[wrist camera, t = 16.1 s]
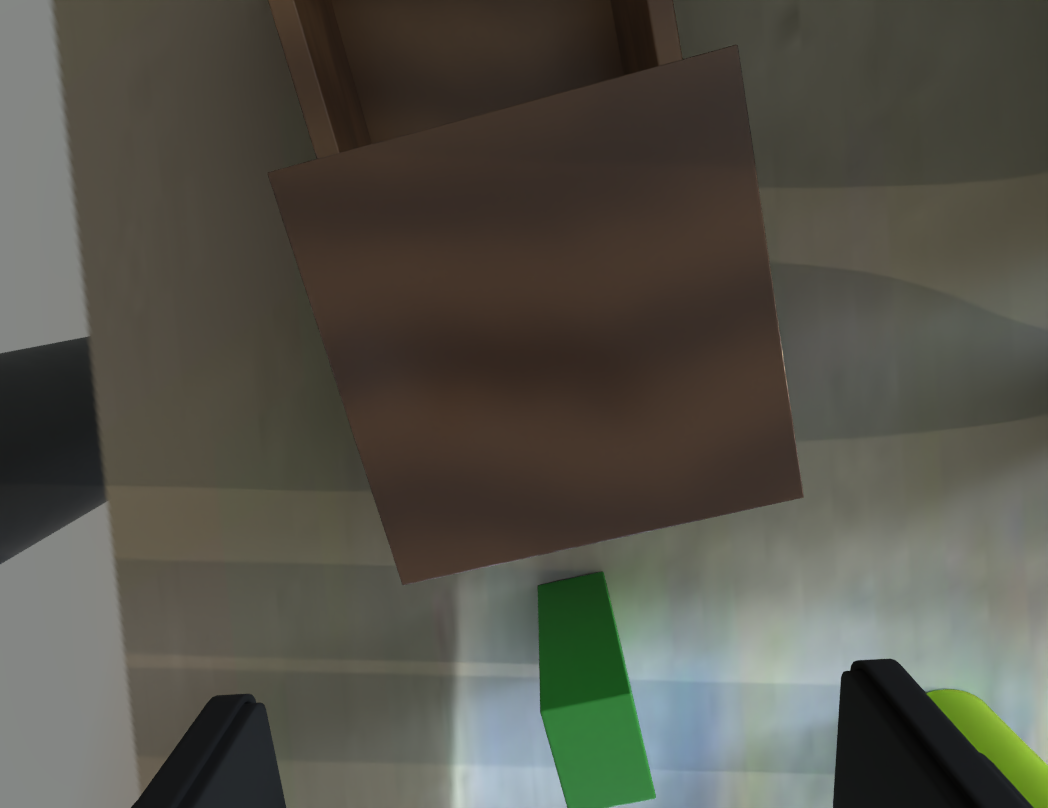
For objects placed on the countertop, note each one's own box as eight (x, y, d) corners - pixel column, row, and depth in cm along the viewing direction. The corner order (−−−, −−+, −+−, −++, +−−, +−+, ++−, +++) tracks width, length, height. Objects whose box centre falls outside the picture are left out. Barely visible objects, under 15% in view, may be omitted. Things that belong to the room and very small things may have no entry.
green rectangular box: (537, 585, 32) (539, 712, 23) (603, 570, 31) (631, 693, 23) (559, 666, 33) (569, 815, 24) (622, 652, 33) (656, 799, 24)
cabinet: (347, 196, 27) (266, 172, 19) (671, 110, 26) (738, 43, 18) (437, 494, 30) (402, 585, 22) (727, 428, 29) (804, 497, 21)
